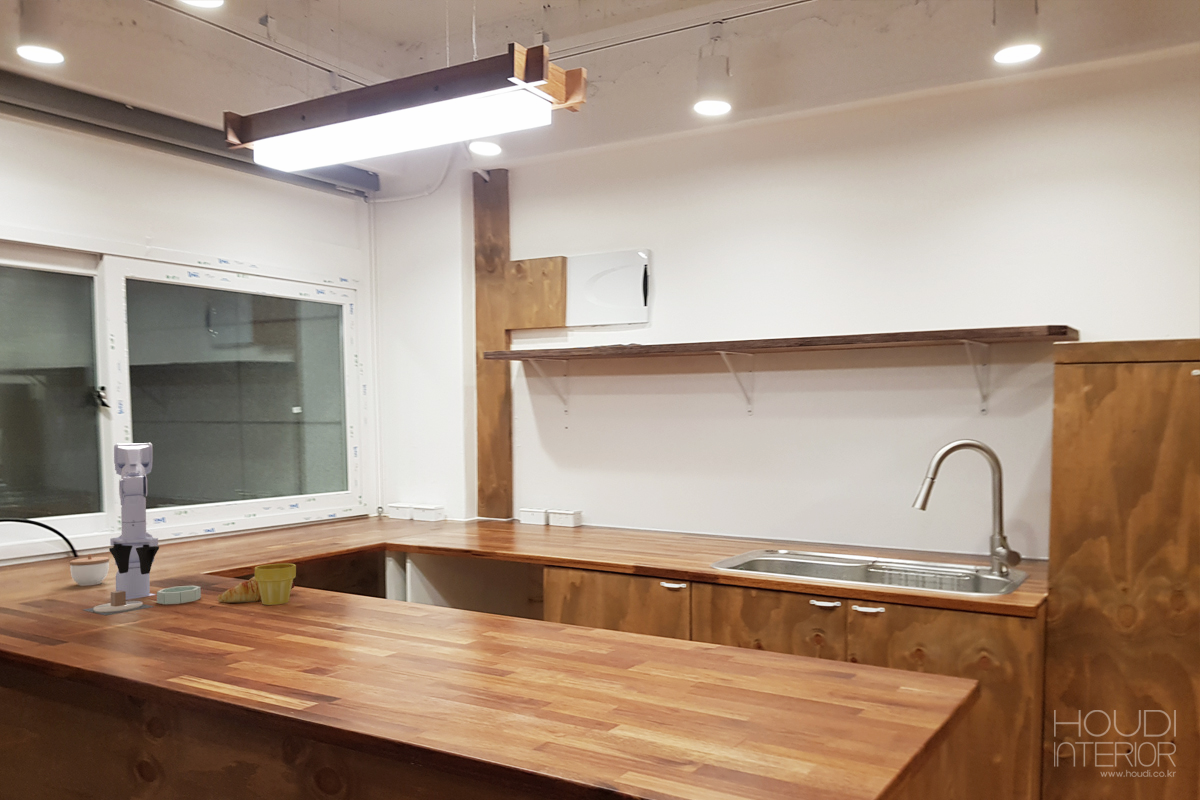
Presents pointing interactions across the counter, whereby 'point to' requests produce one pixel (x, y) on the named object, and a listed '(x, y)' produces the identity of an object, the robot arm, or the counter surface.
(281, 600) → the plant pot
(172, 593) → the bowl
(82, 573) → the lidded jar
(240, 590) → the croissant
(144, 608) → the mat
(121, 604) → the lid
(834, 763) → the counter surface
